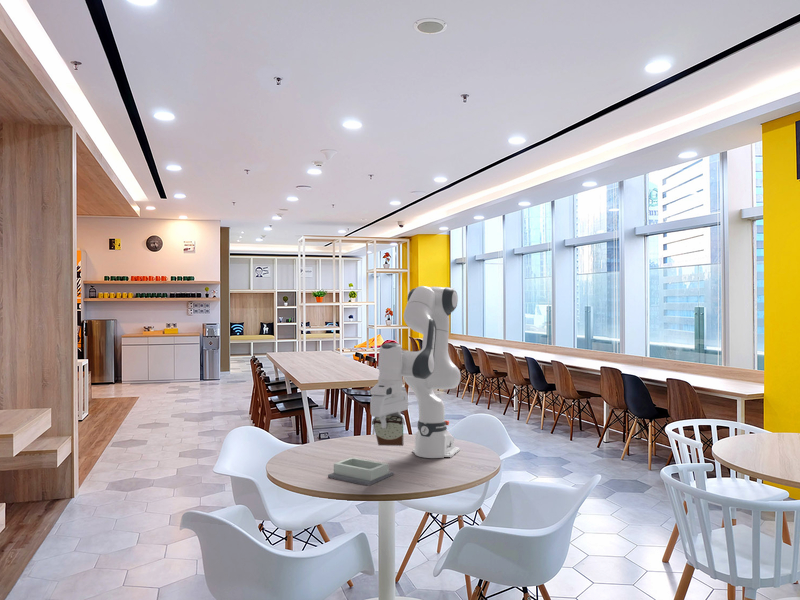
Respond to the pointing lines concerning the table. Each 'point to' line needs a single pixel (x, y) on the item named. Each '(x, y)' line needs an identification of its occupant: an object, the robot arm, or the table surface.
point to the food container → (389, 430)
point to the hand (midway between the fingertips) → (390, 426)
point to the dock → (360, 471)
